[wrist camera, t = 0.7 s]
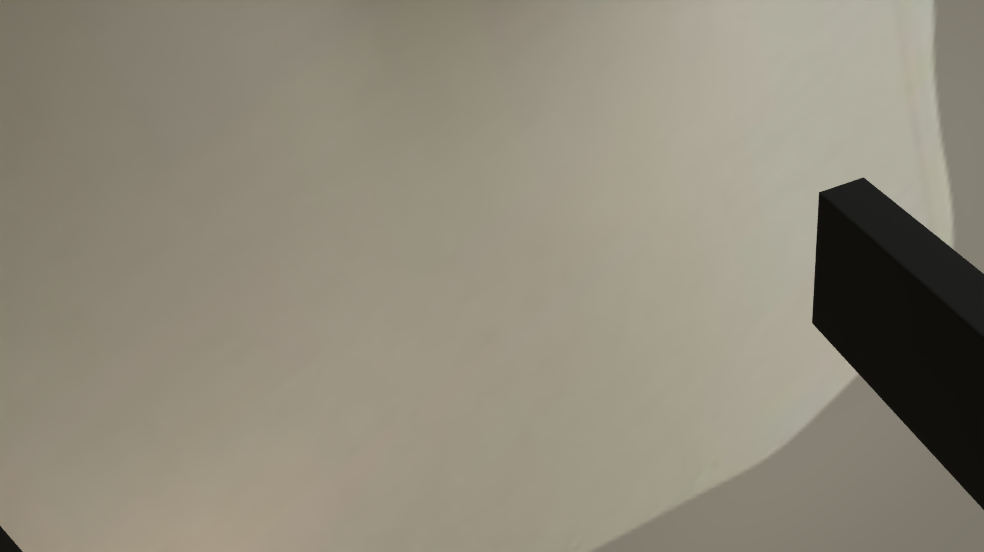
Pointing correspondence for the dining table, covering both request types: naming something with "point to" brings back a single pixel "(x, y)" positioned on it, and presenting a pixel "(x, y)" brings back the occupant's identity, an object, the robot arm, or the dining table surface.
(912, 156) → the dining table surface
